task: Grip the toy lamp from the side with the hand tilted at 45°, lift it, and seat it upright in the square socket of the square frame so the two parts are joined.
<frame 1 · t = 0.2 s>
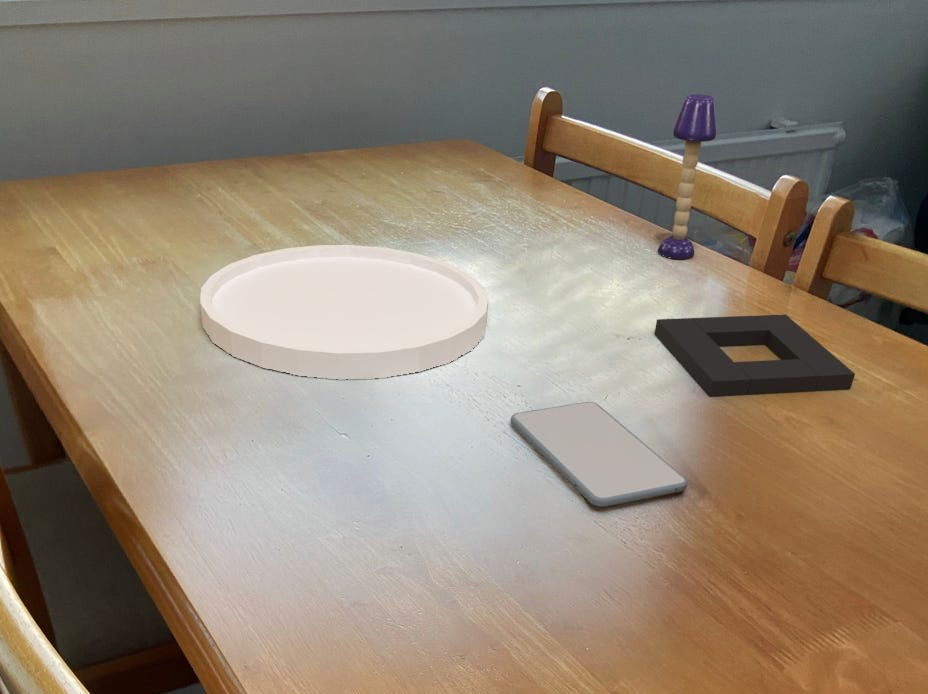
plate: (346, 319, 100), on the table
square frame: (744, 376, 94), on the table
toy lamp: (673, 254, 120), on the table
smartphone: (593, 458, 80), on the table
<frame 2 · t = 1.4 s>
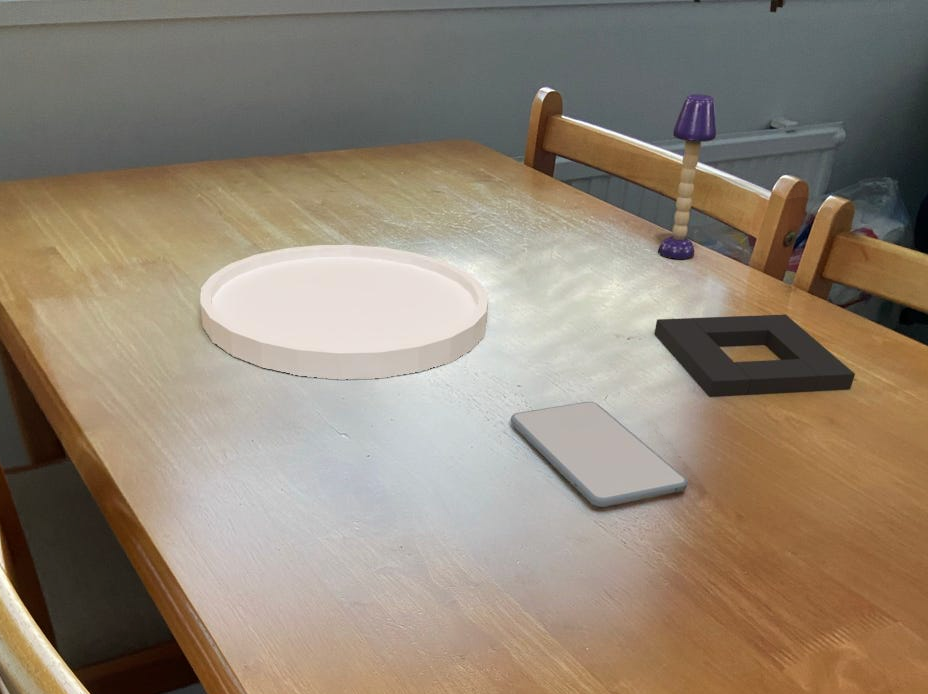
hand: (735, 2, 112), 24 cm above the table, tool tilted 45°, fingers open, 8 cm apart
nothing on the table moved.
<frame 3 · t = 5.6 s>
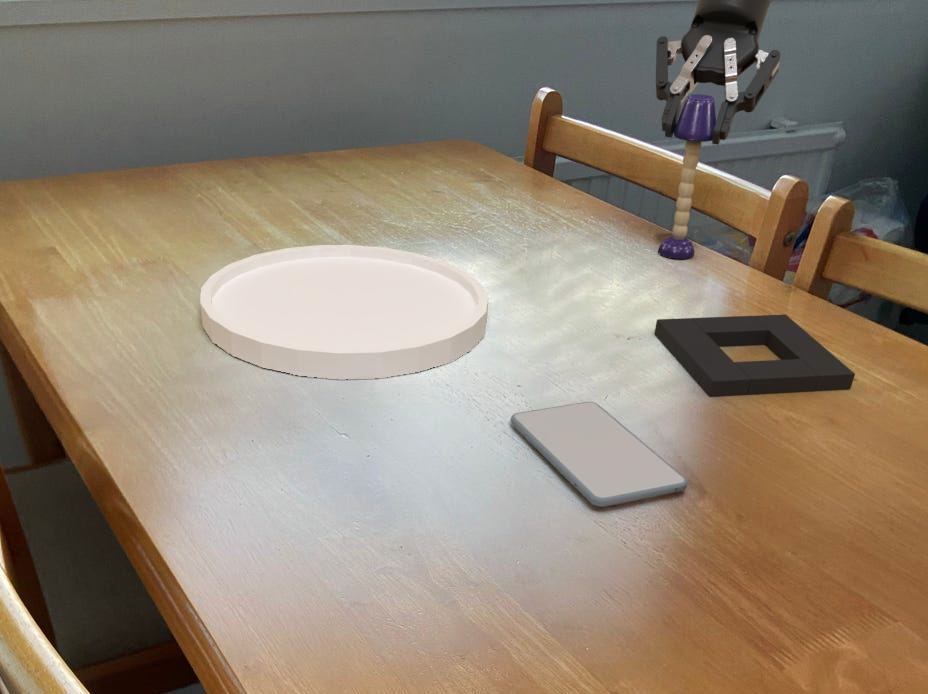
hand: (692, 135, 110), 13 cm above the table, tool tilted 45°, fingers closed on toy lamp, 4 cm apart
toy lamp: (673, 254, 120), on the table, touching gripper
everything else where it was.
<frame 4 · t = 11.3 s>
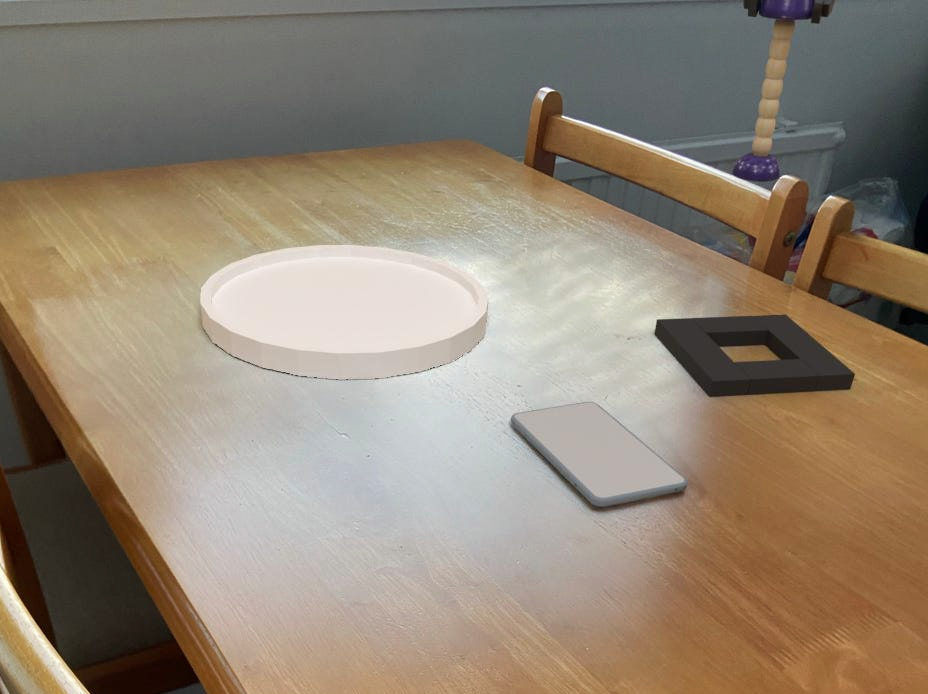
hand: (784, 12, 84), 28 cm above the table, tool tilted 45°, fingers closed on toy lamp, 4 cm apart
toy lamp: (751, 177, 93), point 14 cm above the table, touching gripper
everything else where it was.
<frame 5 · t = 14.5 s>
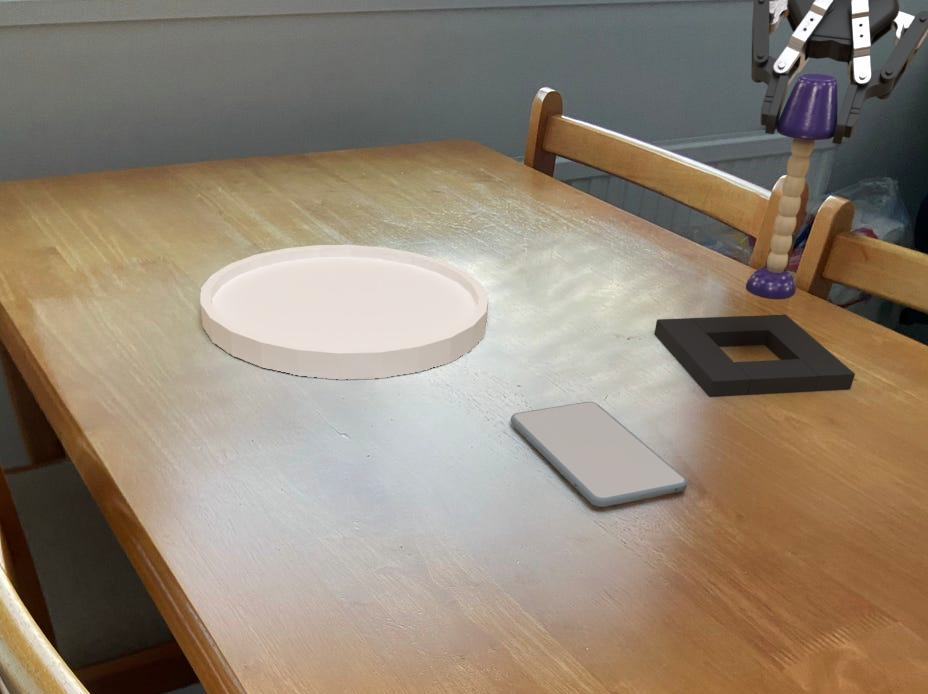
hand: (804, 131, 79), 21 cm above the table, tool tilted 45°, fingers closed on toy lamp, 4 cm apart
toy lamp: (765, 291, 89), point 8 cm above the table, touching gripper
everything else where it was.
when the fingers open (13 cm above the table, at t = 17.1 s): toy lamp stays where it is, resting in square frame.
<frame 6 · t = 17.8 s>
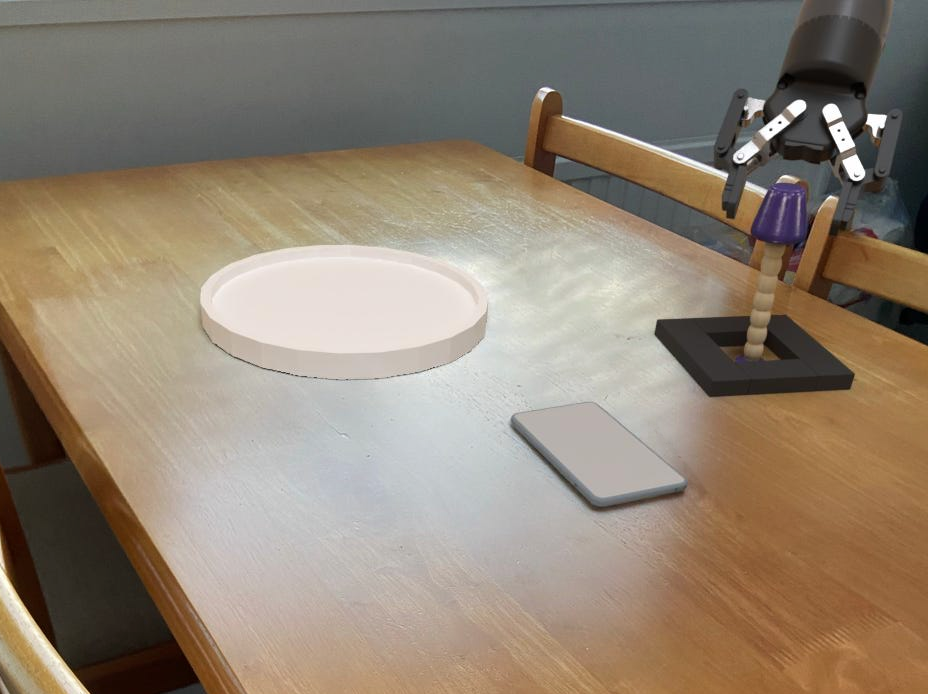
hand: (781, 222, 84), 14 cm above the table, tool tilted 45°, fingers open, 8 cm apart
toy lamp: (743, 377, 94), resting in square frame
everything else where it was.
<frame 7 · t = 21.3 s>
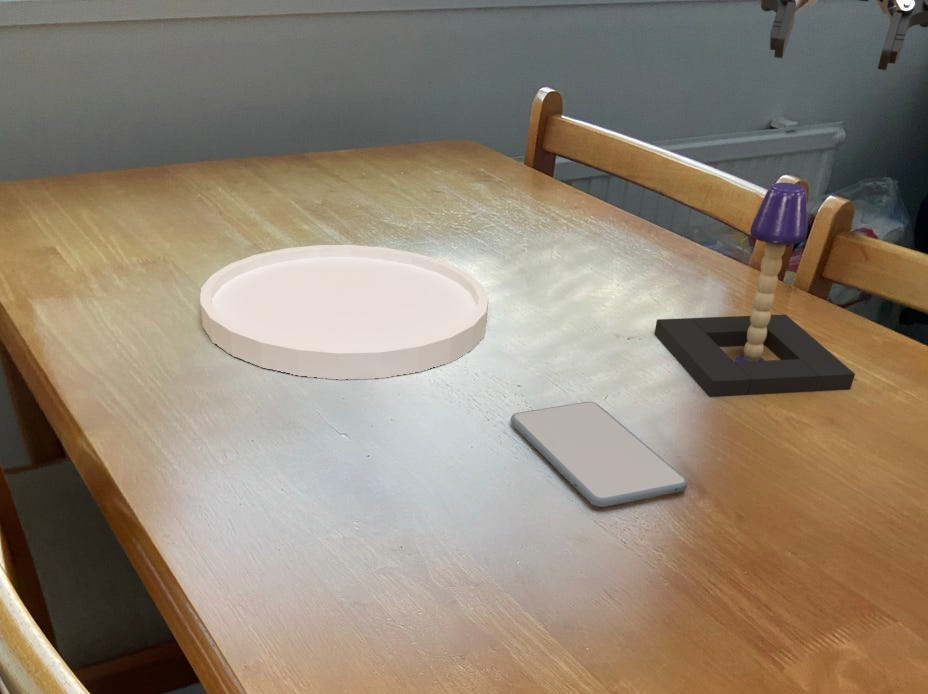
hand: (830, 57, 84), 25 cm above the table, tool tilted 45°, fingers open, 8 cm apart
nothing on the table moved.
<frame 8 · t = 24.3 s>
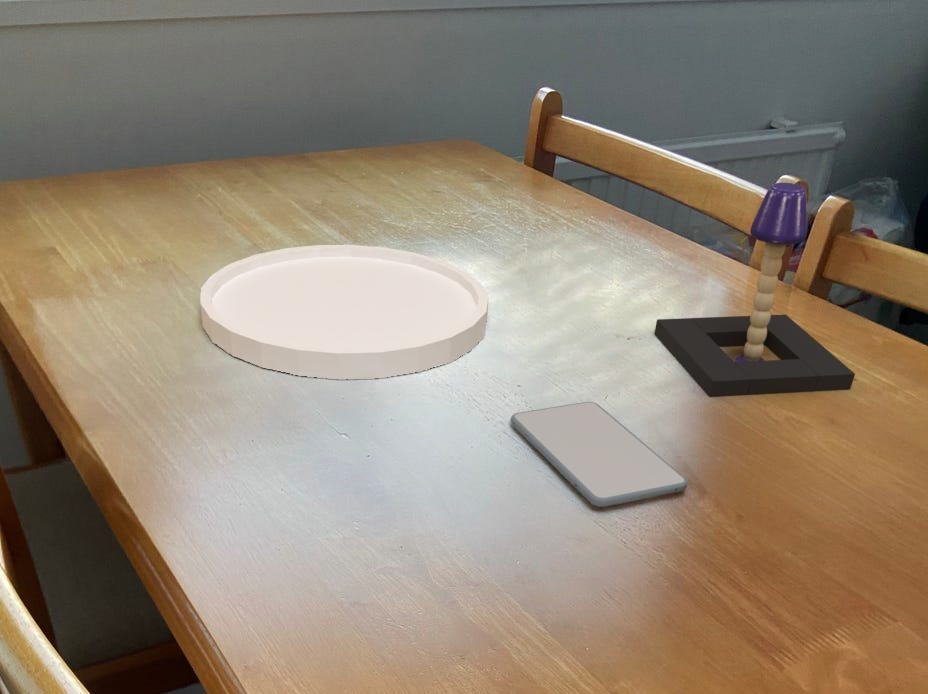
nothing on the table moved.
at the end: toy lamp 0.1 cm off-centre in the square frame, point 0.0 cm above the square frame's base; toy lamp tilted 0°; the gripper is holding nothing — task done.
